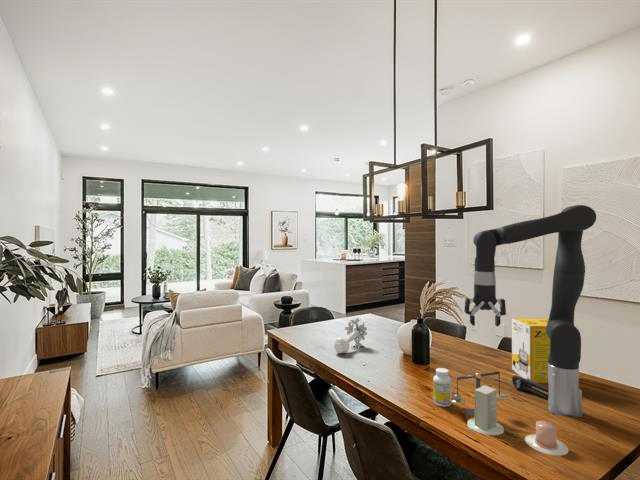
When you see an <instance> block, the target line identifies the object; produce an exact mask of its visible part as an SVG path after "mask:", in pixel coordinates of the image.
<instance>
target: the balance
mask: <svg viewBox="0 0 640 480" xmlns="http://www.w3.org/2000/svg"><path fill="white" fill-rule="evenodd" d="M497 375H498V391H497V400H507V399H508V395H507V394H506V393H503V392H500V391H501V387H500V386H501V385H500V381H501V379H500V378H501V376H500V375H501V373H500V371H492V372H486V373H485V372H484V373H480V372H475V374H472V375H464V376H457V377H456V393H453V397H452V398H451V399H450V402H452V404H454V405H458V406H462V405H463V406H464V405H465V404H466V401H465V400H464V399H463V398H461V397H462V396H461V395H462V394H460V393H459V380H467V379H473V378H475V389H477V388H479V387H481V378H482V377H488V376H497ZM464 410H465V412H466V414H467V416H472V417H475V408H473V409H472V408H464Z"/></svg>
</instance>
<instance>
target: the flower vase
mask: <svg viewBox="0 0 640 480" xmlns="http://www.w3.org/2000/svg"><path fill="white" fill-rule="evenodd" d="M360 321H361V318H360V319H359V317H356V319H355V320H354V319H350V321H348V322H347V325H348V326H346V327H344V330H345V331H347V332H346V335H347V336H345V337H343V336H341V337H337V338H335V339H334V343H333V349H334V351H335V352H336V353H337V354H342V353H343V355H344V353H345V354H346V353H348V352H349V350H350V343H351V342H352V341H354V344H355V345H354V346H355V347H356V348H357V347H360V348H361V347H362V346H364V344H363V343H361V341H365V336H367V335H368V332H367V330H368V328H367V327H366V326H365V322H364V321H363V323H361V324H360V325H359V324H358V323H359V322H360ZM354 326H355V327H354ZM362 344H363V345H362Z"/></svg>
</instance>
